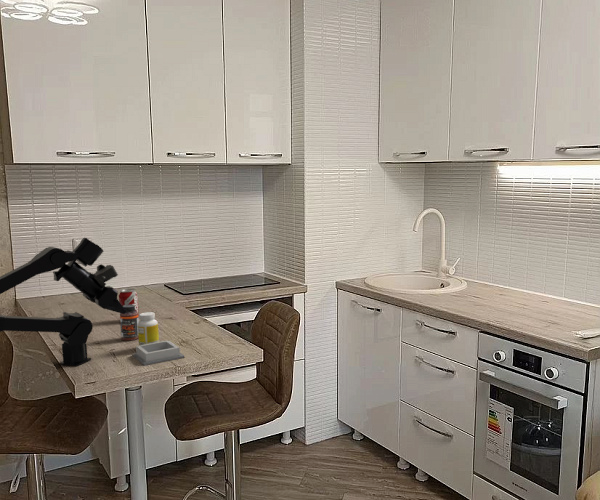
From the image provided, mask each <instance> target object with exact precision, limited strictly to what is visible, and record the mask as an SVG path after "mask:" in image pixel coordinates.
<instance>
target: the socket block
mask: <svg viewBox="0 0 600 500" xmlns="http://www.w3.org/2000/svg"><path fill="white" fill-rule="evenodd" d="M180 349H181V348H180V347H179V346H178V345H176V344H174V343H173V342H172V341H170V340H164V341H163V340H162V341H159V342H156V343H150V344H145V345H139V344H138V345H136V346H135V350H136V352H134V353H132V354H131V355H132V356H133V358H135V359H136V360H137V361H138V362H139V363H140V364H141V365H143V366H150V365H154V364H160V363H164V362H170V361H174V360H179V359H185V355H184V354H183V353H181V350H180Z"/></svg>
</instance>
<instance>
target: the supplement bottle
mask: <svg viewBox="0 0 600 500" xmlns="http://www.w3.org/2000/svg"><path fill="white" fill-rule="evenodd" d="M123 307H124V309H125V310H126V313H125V314H122V313H121V314H120V313H119V322H120V338H121V340H122V341H127V342H129V341H130V342H131V341H136V340H137V339H138V340H139V338H138V326H137V324H138V322H139V321H140V318H139V317H138V312H137V311H136V310H135V305H124V306H123Z"/></svg>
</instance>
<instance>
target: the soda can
mask: <svg viewBox="0 0 600 500" xmlns="http://www.w3.org/2000/svg"><path fill="white" fill-rule="evenodd" d="M118 301H119V302H120V303H121V305H122V306H124V305H135V310H136V311H137V312H138V317H139V314H140V313H139V311H140V310H139V298H138V293H137V292H136V289H135V288H125V289H120V290H119V293H118ZM120 314H121V313H119V315H120Z"/></svg>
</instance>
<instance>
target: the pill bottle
mask: <svg viewBox="0 0 600 500" xmlns="http://www.w3.org/2000/svg"><path fill="white" fill-rule="evenodd" d="M155 318H156V315H155V312H154V311H153V312H152V311H149V312H148V311H146V312H142V313H139V322H138V324H137V326H138V346H139V345H145V344H150V343H156V342H160V336H159V335H160V333H159V324H158V323H159V322H158V320H156V319H155Z"/></svg>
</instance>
